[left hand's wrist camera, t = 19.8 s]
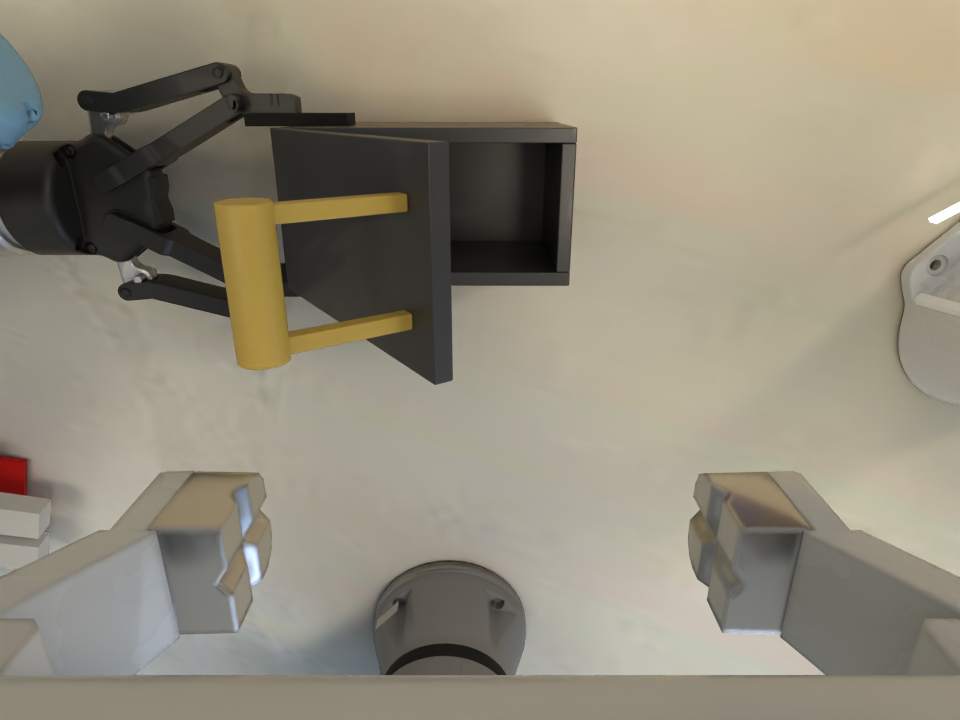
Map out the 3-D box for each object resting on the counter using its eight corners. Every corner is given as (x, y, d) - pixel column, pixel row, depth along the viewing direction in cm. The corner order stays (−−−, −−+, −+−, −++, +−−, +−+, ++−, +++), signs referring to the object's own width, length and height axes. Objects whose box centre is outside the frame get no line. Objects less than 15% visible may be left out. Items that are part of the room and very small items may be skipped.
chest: (557, 122, 48) (577, 127, 38) (551, 249, 52) (569, 286, 41) (323, 122, 48) (279, 127, 38) (334, 249, 52) (297, 285, 41)
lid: (449, 141, 24) (221, 149, 19) (453, 380, 27) (261, 431, 23) (285, 127, 38) (131, 130, 33) (301, 286, 41) (165, 307, 37)
